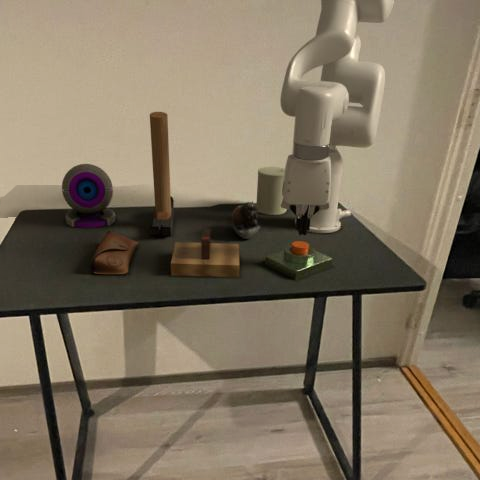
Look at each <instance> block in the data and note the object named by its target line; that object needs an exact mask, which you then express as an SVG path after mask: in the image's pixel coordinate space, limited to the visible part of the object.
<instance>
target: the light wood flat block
mask: <svg viewBox="0 0 480 480" xmlns="http://www.w3.org/2000/svg"><path fill="white" fill-rule="evenodd" d="M170 275H171V276H172V277H173V276H176V277H177V276H178V277H206V278H207V277H209V278H212V277H215V278H217V277H220V278H221V277H222V278H239V277H240V244H239V243H217V242H216V243H214V242H211V249H210V259H202V242H187V241H186V242H184V241H183V242H181V241H180V242H179V241H178V242H177V241H176V242H175V243H174V247H173V252H172V256H171V261H170Z"/></svg>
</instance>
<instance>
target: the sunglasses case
mask: <svg viewBox="0 0 480 480" xmlns="http://www.w3.org/2000/svg"><path fill="white" fill-rule="evenodd" d="M139 244H140V242H139V241H137V240H133V239H131V238H128V237H125V236H123V235H120V234H118V233H115V232H113V231H112V230H111V229H109V230H107V231H106V233H105V235H104V236H103V238H102V239H101V241H100V243H99V245H98V247H97V248H96V250H95V252H94V255H93V257H92V258H91V261H90V265H89V269H90V270H91V272H92V273H93V274H95V275H105V276H116V275H117V276H118V275H119V276H120V275H127V274H129V269H130V263H131V260H132V258H133V256H134V253H135V251H136V249H137V247H138V246H139Z"/></svg>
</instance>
